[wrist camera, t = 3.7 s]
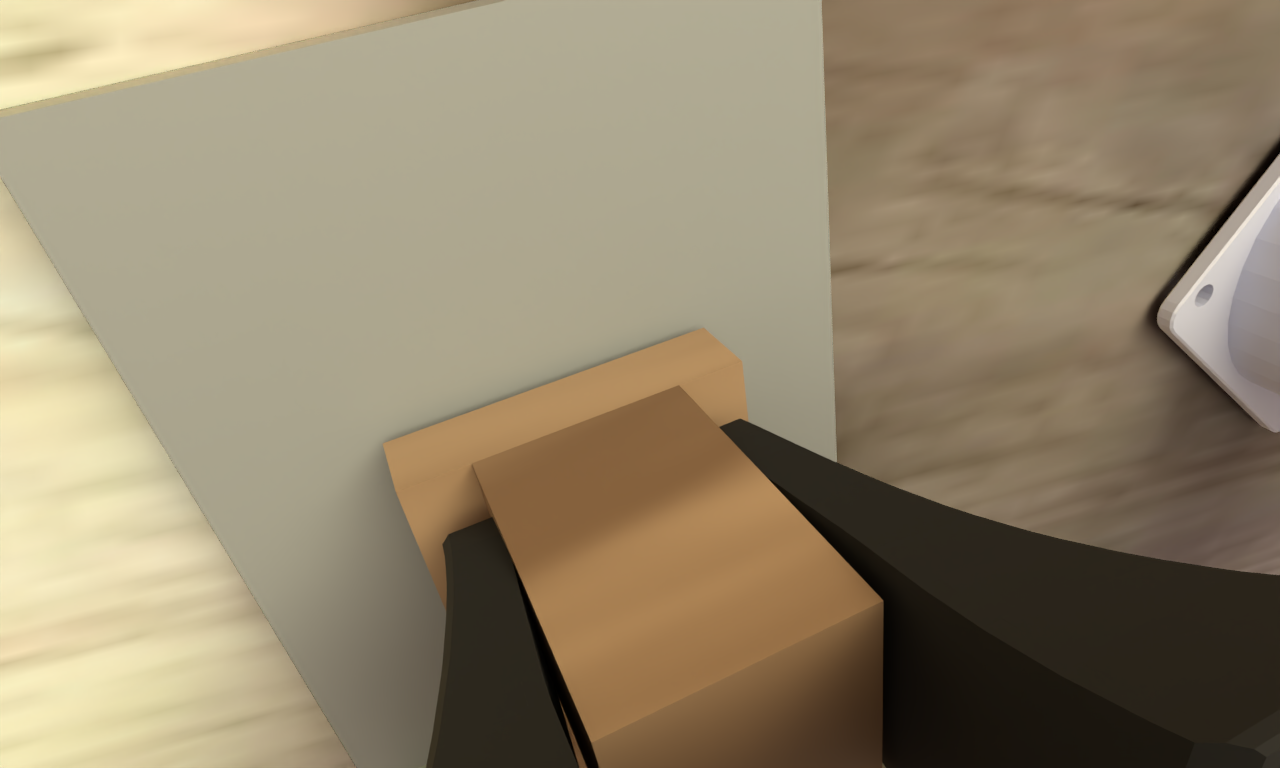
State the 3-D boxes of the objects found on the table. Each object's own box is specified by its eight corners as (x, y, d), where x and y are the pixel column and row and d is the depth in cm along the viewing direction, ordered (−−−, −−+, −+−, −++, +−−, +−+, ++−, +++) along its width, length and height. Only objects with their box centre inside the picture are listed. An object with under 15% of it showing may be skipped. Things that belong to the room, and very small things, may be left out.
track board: (-16, 113, 9) (-31, 124, 8) (794, -72, 11) (819, -73, 11) (571, 1113, 26) (578, 1136, 25) (843, 948, 28) (853, 966, 28)
